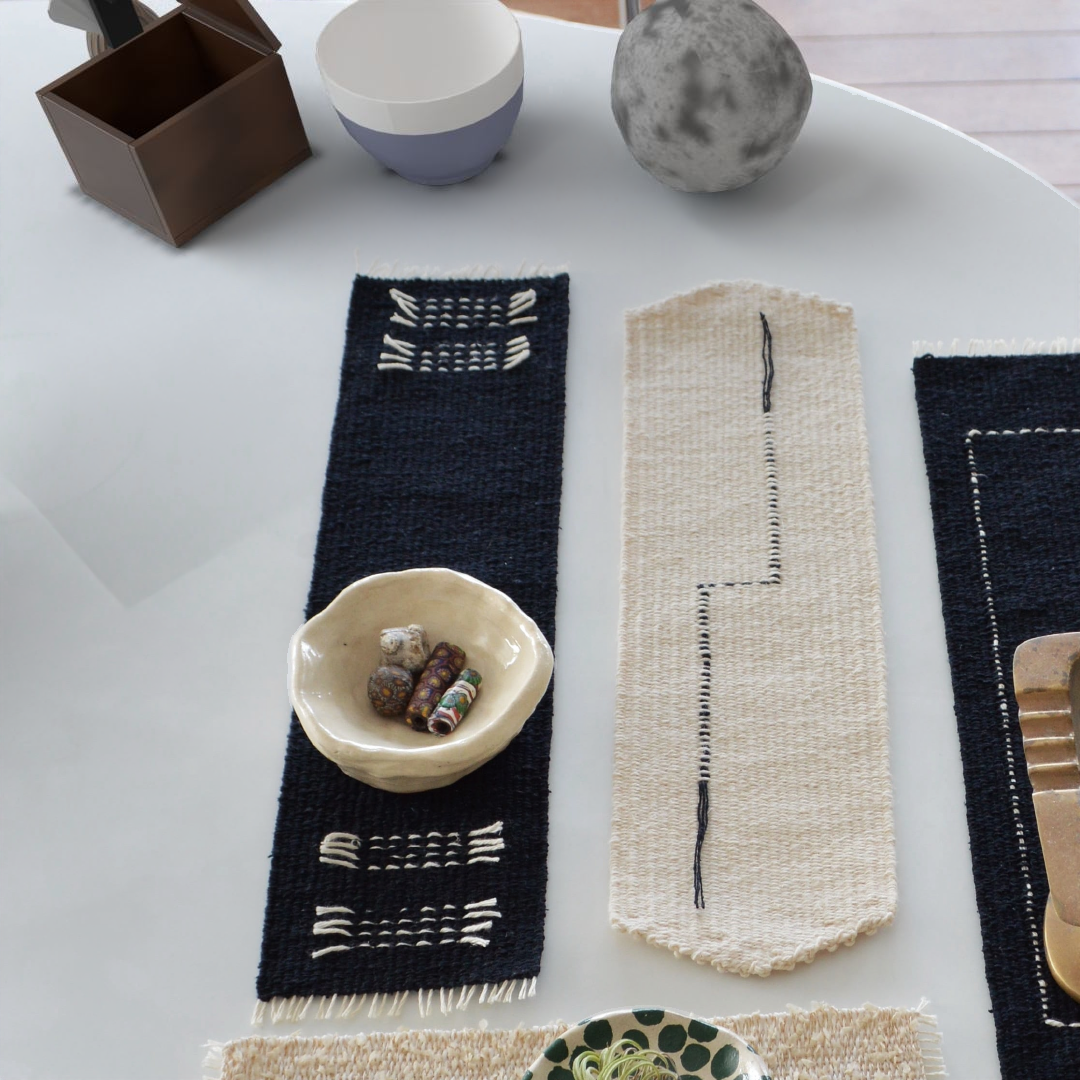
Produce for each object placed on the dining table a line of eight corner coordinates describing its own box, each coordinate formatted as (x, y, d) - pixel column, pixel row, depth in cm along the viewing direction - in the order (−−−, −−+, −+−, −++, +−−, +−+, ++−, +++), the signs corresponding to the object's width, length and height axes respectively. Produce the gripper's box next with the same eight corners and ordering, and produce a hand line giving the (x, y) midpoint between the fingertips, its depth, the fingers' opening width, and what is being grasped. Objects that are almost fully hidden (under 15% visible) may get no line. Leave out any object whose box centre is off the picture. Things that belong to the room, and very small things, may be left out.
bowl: (559, 102, 123) (544, -8, 115) (509, 222, 115) (488, 113, 107) (381, 83, 125) (353, -27, 117) (319, 201, 117) (284, 91, 108)
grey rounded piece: (97, 32, 100) (45, -35, 99) (78, 79, 105) (28, 16, 103) (167, 2, 103) (117, -63, 102) (145, 49, 108) (98, -12, 107)
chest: (177, 248, 114) (134, 148, 106) (82, 191, 117) (34, 91, 110) (313, 154, 120) (281, 54, 112) (218, 103, 123) (182, 3, 116)
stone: (653, 109, 123) (638, -70, 110) (830, 139, 120) (835, -40, 108) (595, 219, 115) (572, 40, 102) (782, 254, 113) (782, 75, 100)
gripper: (-206, -374, 86) (-19, 6, 106) (-20, -290, 80) (141, 95, 100) (-99, -417, 89) (63, -40, 109) (88, -339, 83) (223, 44, 103)
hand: (100, 24), depth 105 cm, fingers closed on grey rounded piece, 5 cm apart
